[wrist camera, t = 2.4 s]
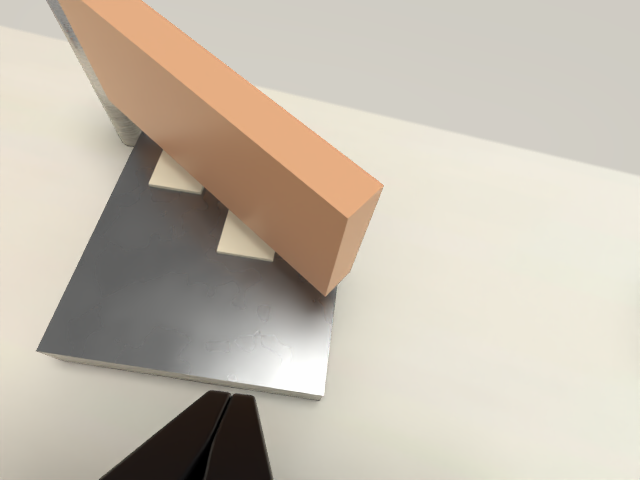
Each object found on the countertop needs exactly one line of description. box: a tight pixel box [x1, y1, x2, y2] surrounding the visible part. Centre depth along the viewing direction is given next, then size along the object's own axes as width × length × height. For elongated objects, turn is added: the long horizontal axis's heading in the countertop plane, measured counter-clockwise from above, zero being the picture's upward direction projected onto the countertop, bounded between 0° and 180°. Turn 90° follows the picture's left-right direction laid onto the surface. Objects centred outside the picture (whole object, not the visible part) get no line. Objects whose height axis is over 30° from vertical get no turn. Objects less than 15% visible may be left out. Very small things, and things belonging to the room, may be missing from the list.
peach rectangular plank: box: [58, 0, 384, 297], centre depth 15 cm, size 2×14×6 cm, turn 47°
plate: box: [36, 0, 337, 401], centre depth 16 cm, size 14×14×10 cm
